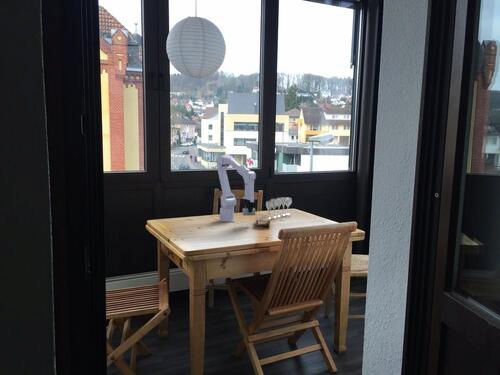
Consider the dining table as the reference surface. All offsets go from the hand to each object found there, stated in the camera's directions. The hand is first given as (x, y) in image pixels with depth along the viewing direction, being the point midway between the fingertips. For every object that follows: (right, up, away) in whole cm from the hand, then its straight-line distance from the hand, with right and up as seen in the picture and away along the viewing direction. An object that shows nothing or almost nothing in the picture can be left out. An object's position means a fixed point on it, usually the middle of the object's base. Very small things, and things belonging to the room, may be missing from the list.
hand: (248, 211), depth 268 cm
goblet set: (+21, -6, +34) cm, 40 cm away
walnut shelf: (+9, -9, +2) cm, 13 cm away
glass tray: (0, -2, 0) cm, 2 cm away
